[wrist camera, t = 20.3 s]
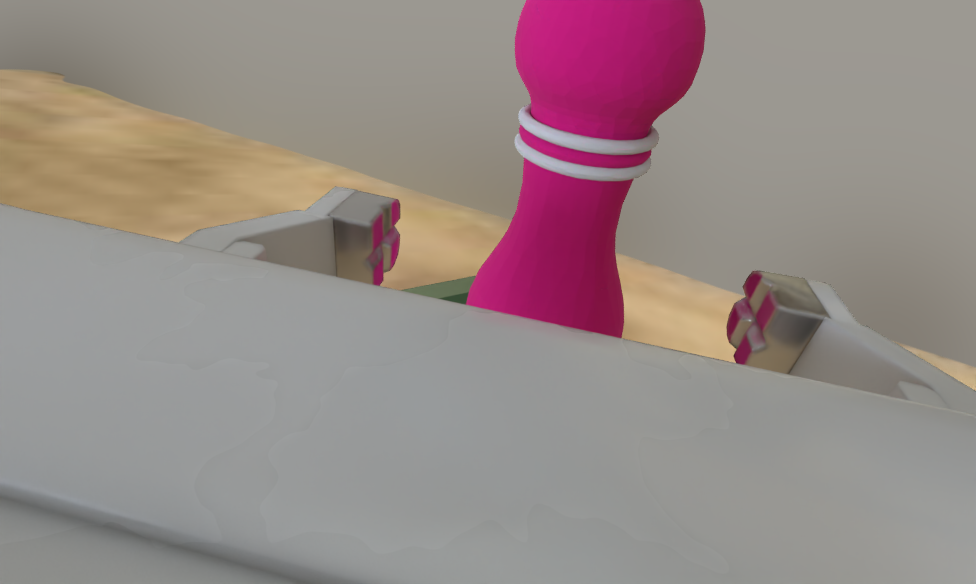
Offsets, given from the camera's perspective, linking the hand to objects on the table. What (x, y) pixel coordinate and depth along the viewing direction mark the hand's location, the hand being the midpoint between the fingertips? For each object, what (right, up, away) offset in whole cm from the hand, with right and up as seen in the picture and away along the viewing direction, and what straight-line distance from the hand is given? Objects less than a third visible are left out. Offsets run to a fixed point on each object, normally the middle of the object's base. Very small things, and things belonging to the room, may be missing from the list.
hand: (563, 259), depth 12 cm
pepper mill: (0, -6, +14) cm, 15 cm away
